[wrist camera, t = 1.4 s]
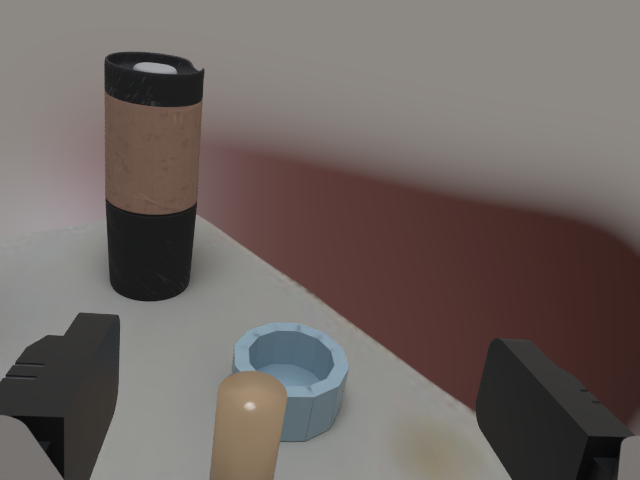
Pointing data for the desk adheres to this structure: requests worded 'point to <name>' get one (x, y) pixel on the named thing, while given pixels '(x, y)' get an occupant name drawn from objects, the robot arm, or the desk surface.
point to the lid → (247, 427)
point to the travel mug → (151, 171)
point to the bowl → (297, 373)
